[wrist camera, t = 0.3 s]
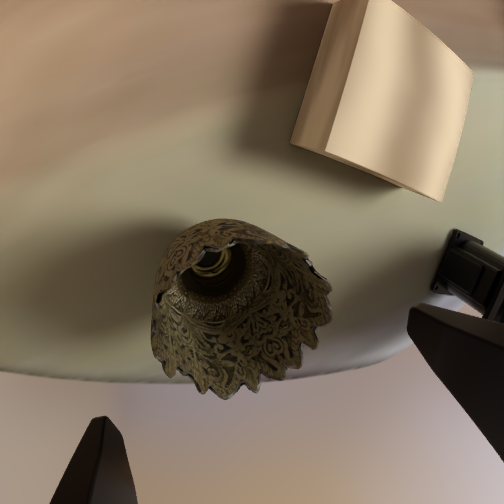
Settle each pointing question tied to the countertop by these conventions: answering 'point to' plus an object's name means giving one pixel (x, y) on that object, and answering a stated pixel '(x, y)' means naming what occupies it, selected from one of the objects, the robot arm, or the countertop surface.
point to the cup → (235, 307)
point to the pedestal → (385, 97)
